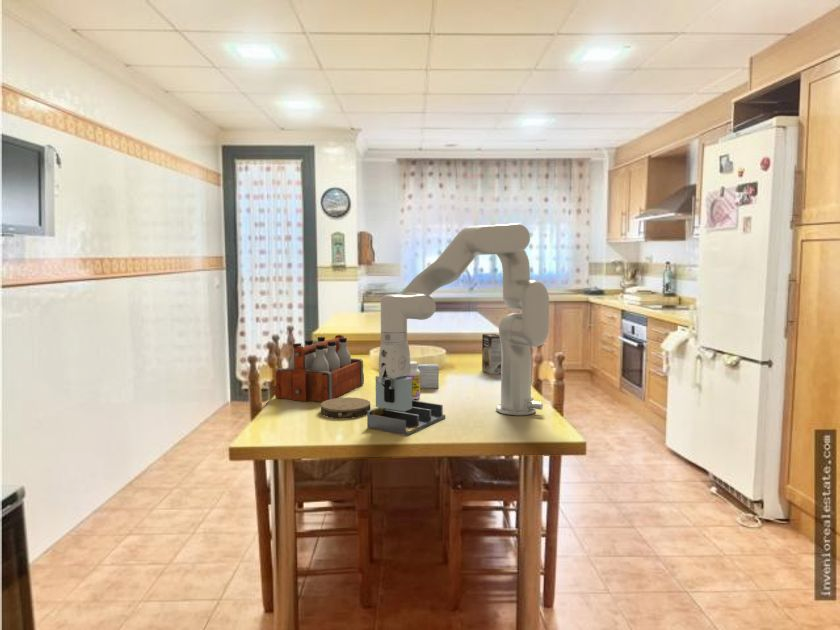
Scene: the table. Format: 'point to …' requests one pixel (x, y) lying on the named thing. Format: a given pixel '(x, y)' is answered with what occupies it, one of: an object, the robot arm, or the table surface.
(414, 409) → the rack
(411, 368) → the supplement bottle
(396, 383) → the panel
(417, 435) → the table surface
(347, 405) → the round wood slice
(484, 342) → the coffee box
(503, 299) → the robot arm
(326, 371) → the milk bottle holder
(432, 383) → the medicine box
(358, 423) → the table surface
